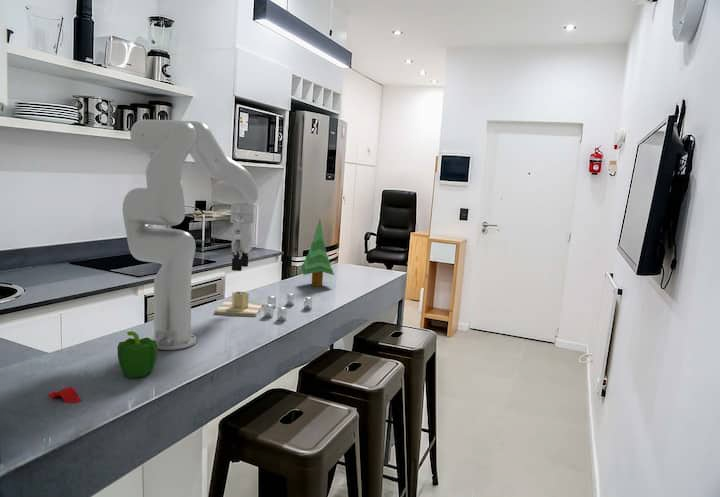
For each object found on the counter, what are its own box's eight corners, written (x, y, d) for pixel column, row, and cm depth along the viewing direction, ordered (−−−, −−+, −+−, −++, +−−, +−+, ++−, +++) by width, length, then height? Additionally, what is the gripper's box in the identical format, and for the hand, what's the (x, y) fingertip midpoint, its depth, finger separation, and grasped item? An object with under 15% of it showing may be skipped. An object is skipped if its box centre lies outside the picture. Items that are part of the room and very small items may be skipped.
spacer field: (306, 322, 166) (307, 310, 166) (258, 319, 166) (258, 307, 166) (313, 304, 189) (313, 294, 189) (270, 302, 189) (270, 291, 188)
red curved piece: (44, 398, 104) (44, 388, 104) (57, 392, 107) (57, 383, 107) (72, 406, 101) (72, 396, 101) (84, 401, 104) (84, 391, 104)
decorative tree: (305, 280, 231) (308, 215, 226) (338, 284, 227) (341, 217, 223) (294, 286, 218) (297, 217, 213) (328, 290, 214) (332, 219, 210)
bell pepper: (163, 374, 118) (163, 333, 117) (128, 384, 112) (127, 340, 111) (146, 364, 124) (146, 325, 122) (112, 372, 118) (111, 331, 116)
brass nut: (246, 309, 174) (246, 295, 173) (229, 308, 174) (230, 294, 173) (249, 305, 179) (250, 291, 178) (233, 304, 179) (233, 290, 178)
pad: (255, 316, 170) (256, 313, 170) (214, 314, 170) (214, 311, 169) (263, 305, 184) (263, 303, 183) (225, 303, 183) (225, 301, 183)
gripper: (247, 220, 163) (245, 273, 165) (258, 218, 181) (256, 265, 182) (224, 219, 163) (222, 271, 165) (237, 216, 180) (235, 264, 182)
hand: (240, 268), depth 174 cm, fingers open, 9 cm apart
